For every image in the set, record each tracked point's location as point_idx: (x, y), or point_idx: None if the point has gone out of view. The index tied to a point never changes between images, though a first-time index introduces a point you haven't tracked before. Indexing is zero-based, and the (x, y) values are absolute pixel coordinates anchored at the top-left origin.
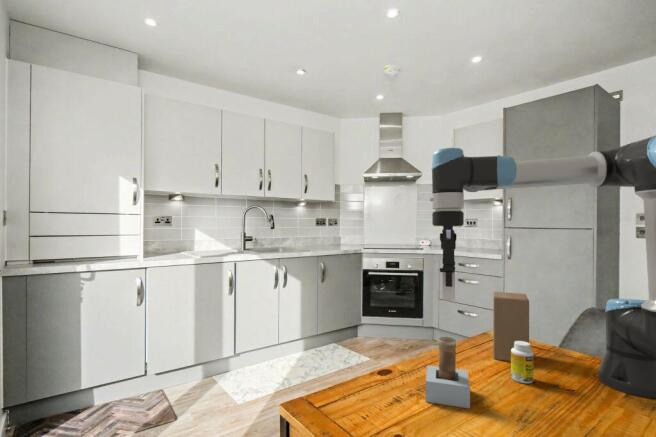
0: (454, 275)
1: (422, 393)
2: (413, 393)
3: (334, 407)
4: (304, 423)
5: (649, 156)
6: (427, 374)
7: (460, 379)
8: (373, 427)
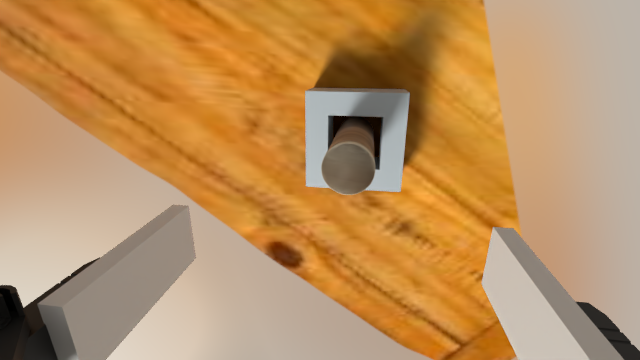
0: (612, 352)
1: None
2: (366, 199)
3: (456, 322)
4: None
5: None
6: None
7: (370, 112)
8: None
